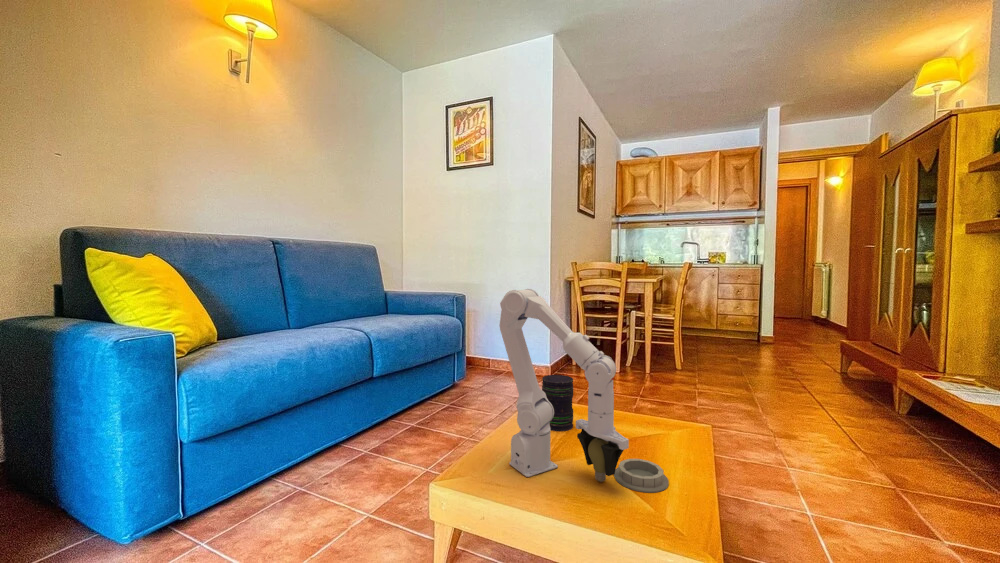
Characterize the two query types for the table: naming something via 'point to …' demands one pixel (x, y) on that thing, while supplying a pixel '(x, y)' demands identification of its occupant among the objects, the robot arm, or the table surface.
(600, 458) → the light bulb
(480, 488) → the table surface
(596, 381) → the robot arm
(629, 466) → the bulb holder
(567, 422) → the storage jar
